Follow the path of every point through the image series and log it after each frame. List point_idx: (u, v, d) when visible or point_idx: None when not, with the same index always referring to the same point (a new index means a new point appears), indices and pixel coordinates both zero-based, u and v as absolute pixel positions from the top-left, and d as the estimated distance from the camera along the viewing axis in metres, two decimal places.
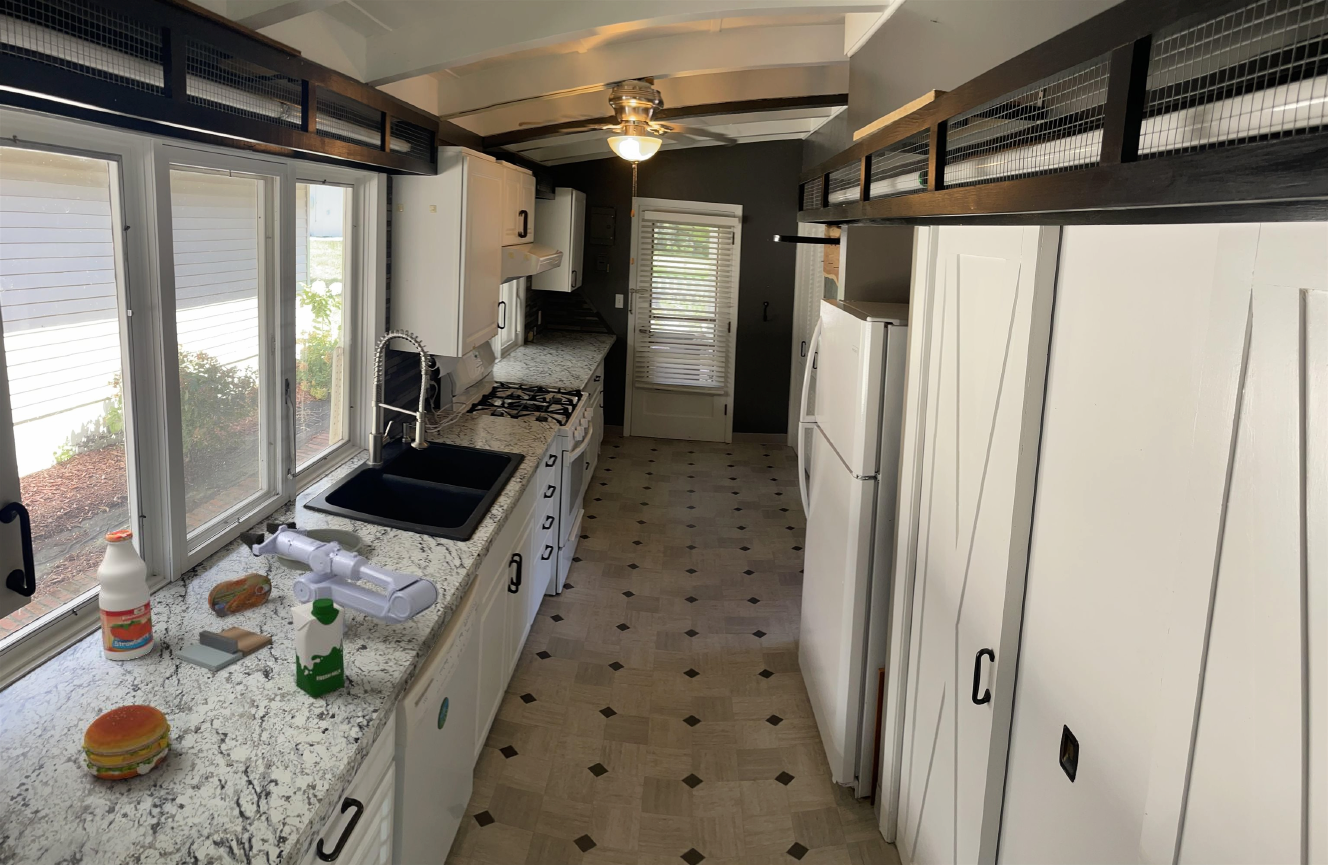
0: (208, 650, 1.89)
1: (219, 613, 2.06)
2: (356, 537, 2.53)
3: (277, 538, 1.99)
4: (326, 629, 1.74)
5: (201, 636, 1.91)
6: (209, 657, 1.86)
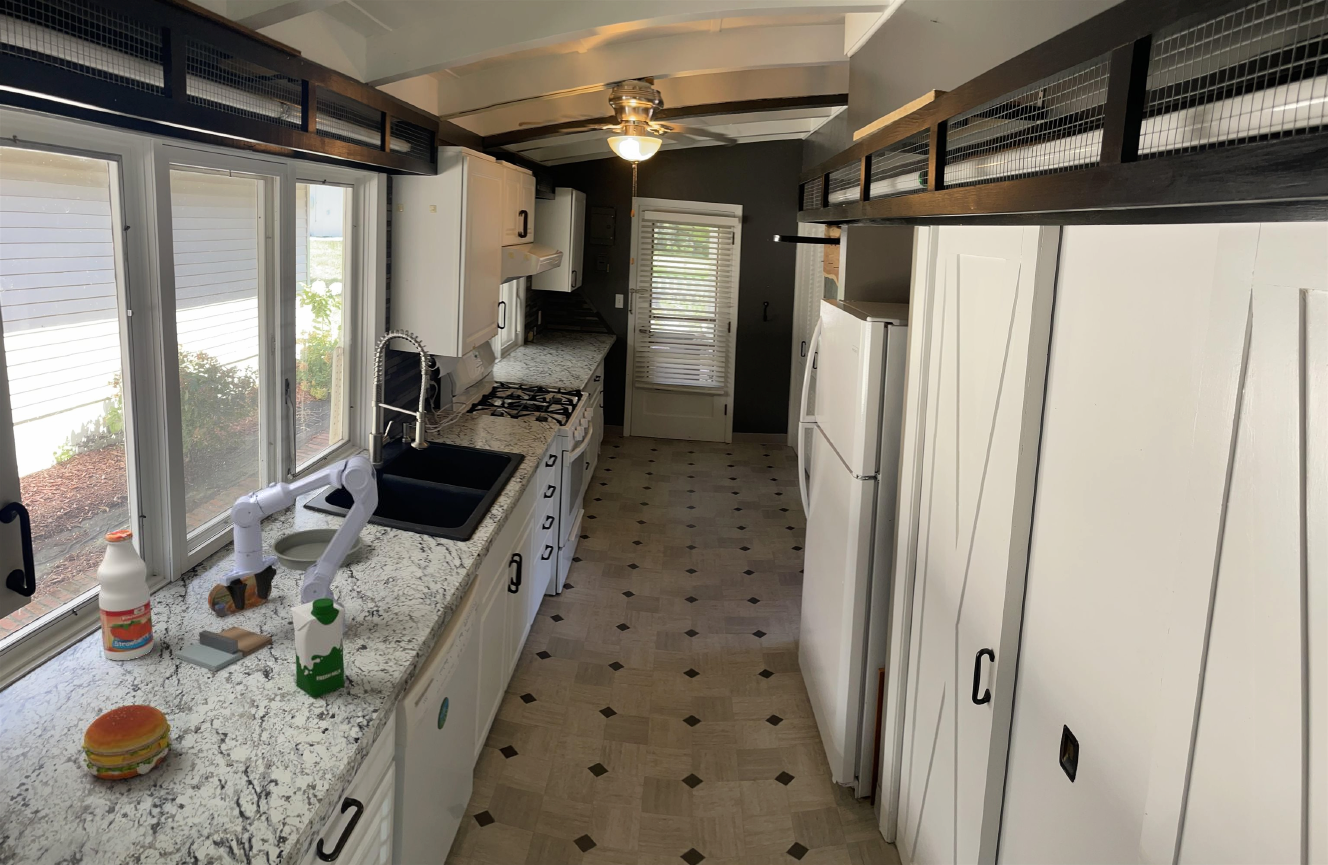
0: (208, 650, 1.89)
1: (219, 613, 2.06)
2: None
3: (235, 566, 1.93)
4: (326, 629, 1.74)
5: (201, 636, 1.91)
6: (209, 657, 1.86)
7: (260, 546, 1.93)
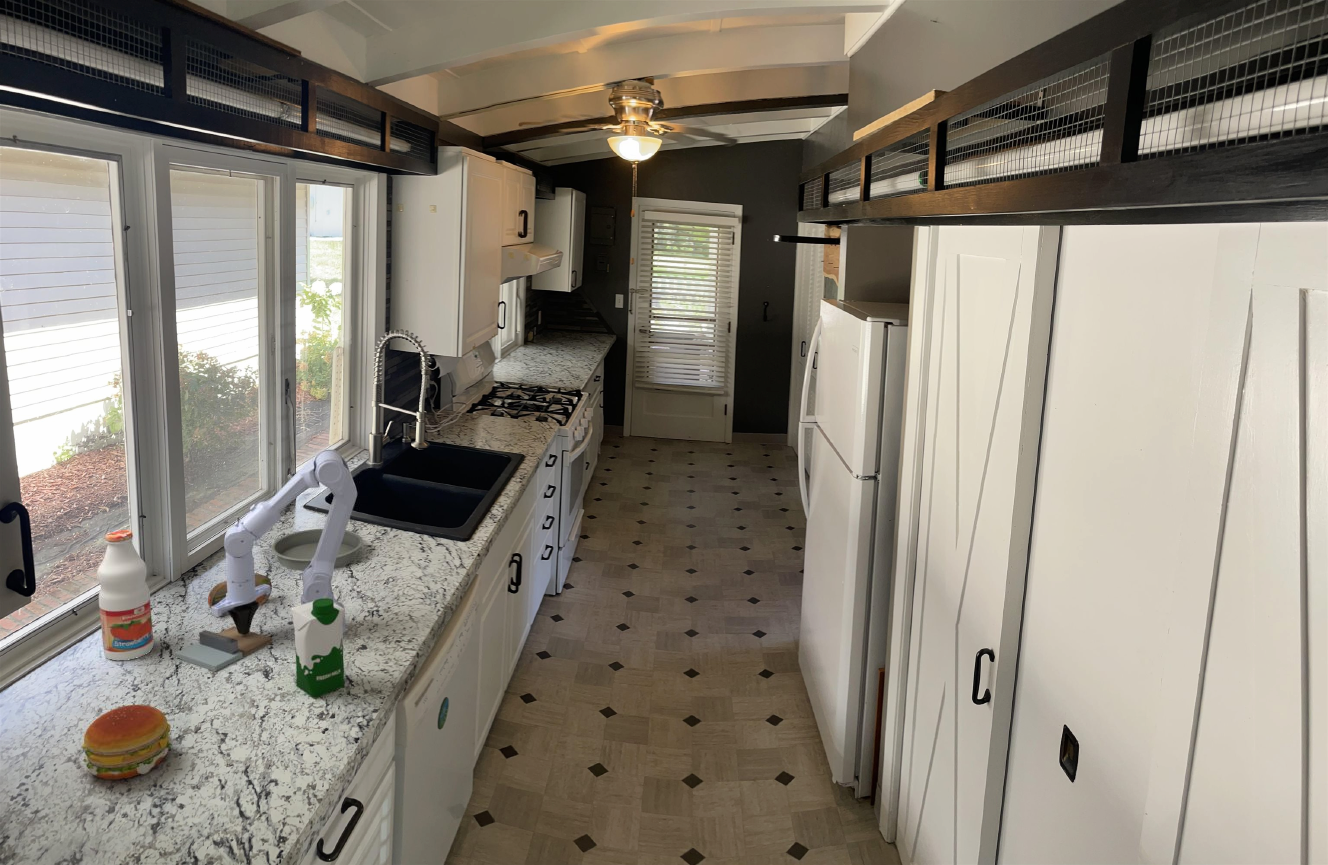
0: (208, 650, 1.89)
1: None
2: (356, 537, 2.53)
3: (227, 596, 1.92)
4: (326, 629, 1.74)
5: (201, 636, 1.91)
6: (209, 657, 1.86)
7: (253, 575, 1.93)
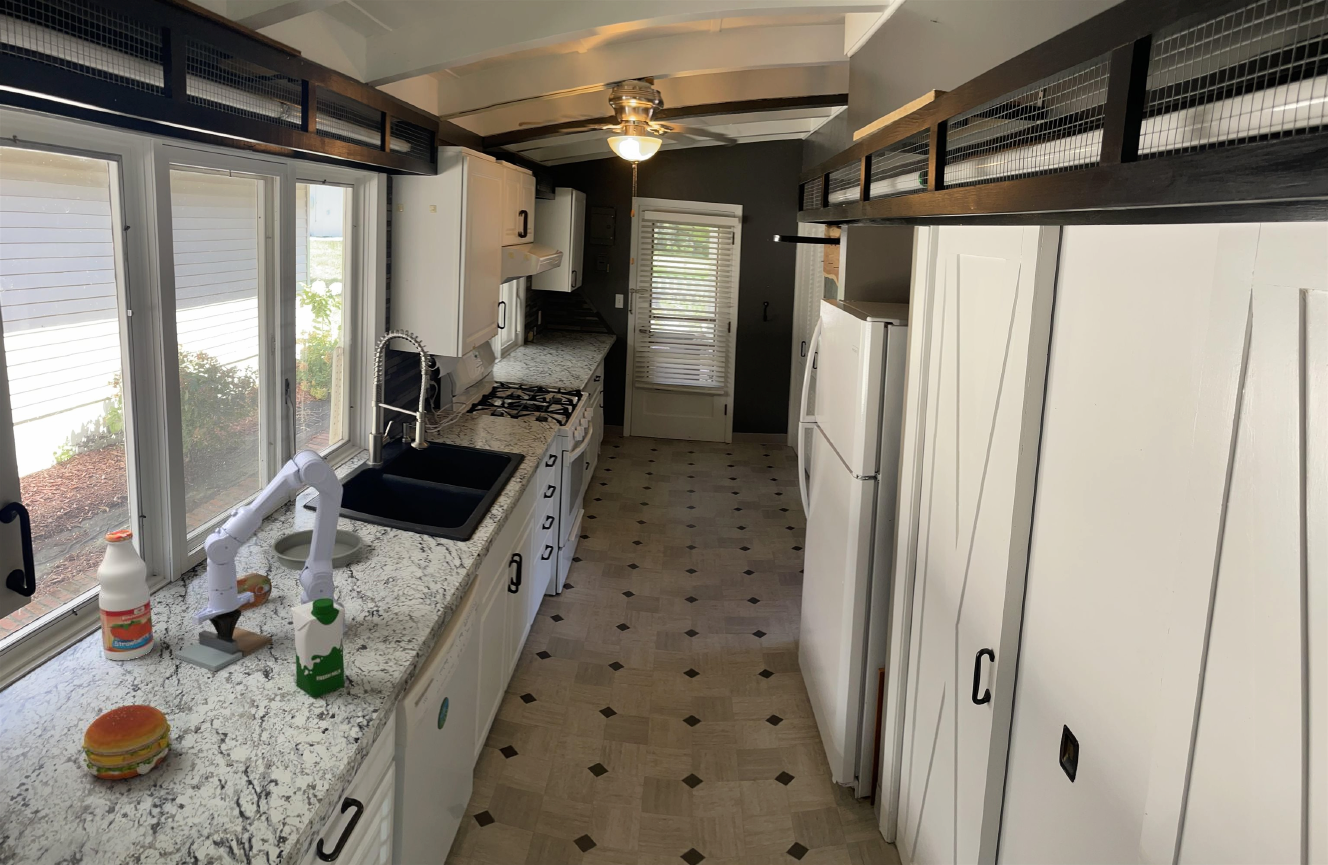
0: (208, 650, 1.88)
1: None
2: (356, 537, 2.53)
3: (209, 604, 1.88)
4: (326, 629, 1.74)
5: (200, 636, 1.90)
6: (209, 657, 1.86)
7: (236, 582, 1.89)
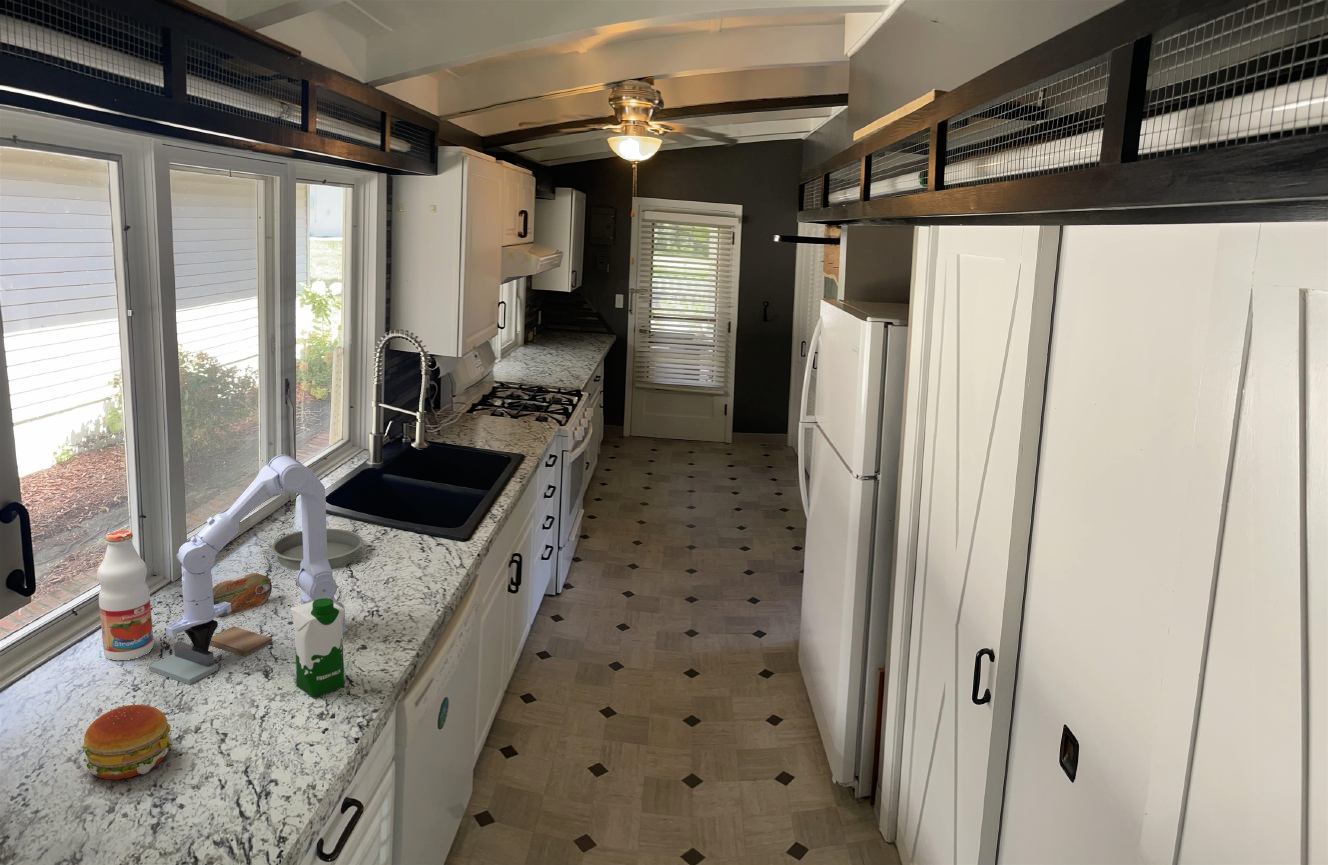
0: (182, 663, 1.83)
1: None
2: (356, 537, 2.53)
3: (184, 615, 1.82)
4: (326, 629, 1.74)
5: (175, 648, 1.85)
6: (183, 670, 1.80)
7: (212, 591, 1.84)
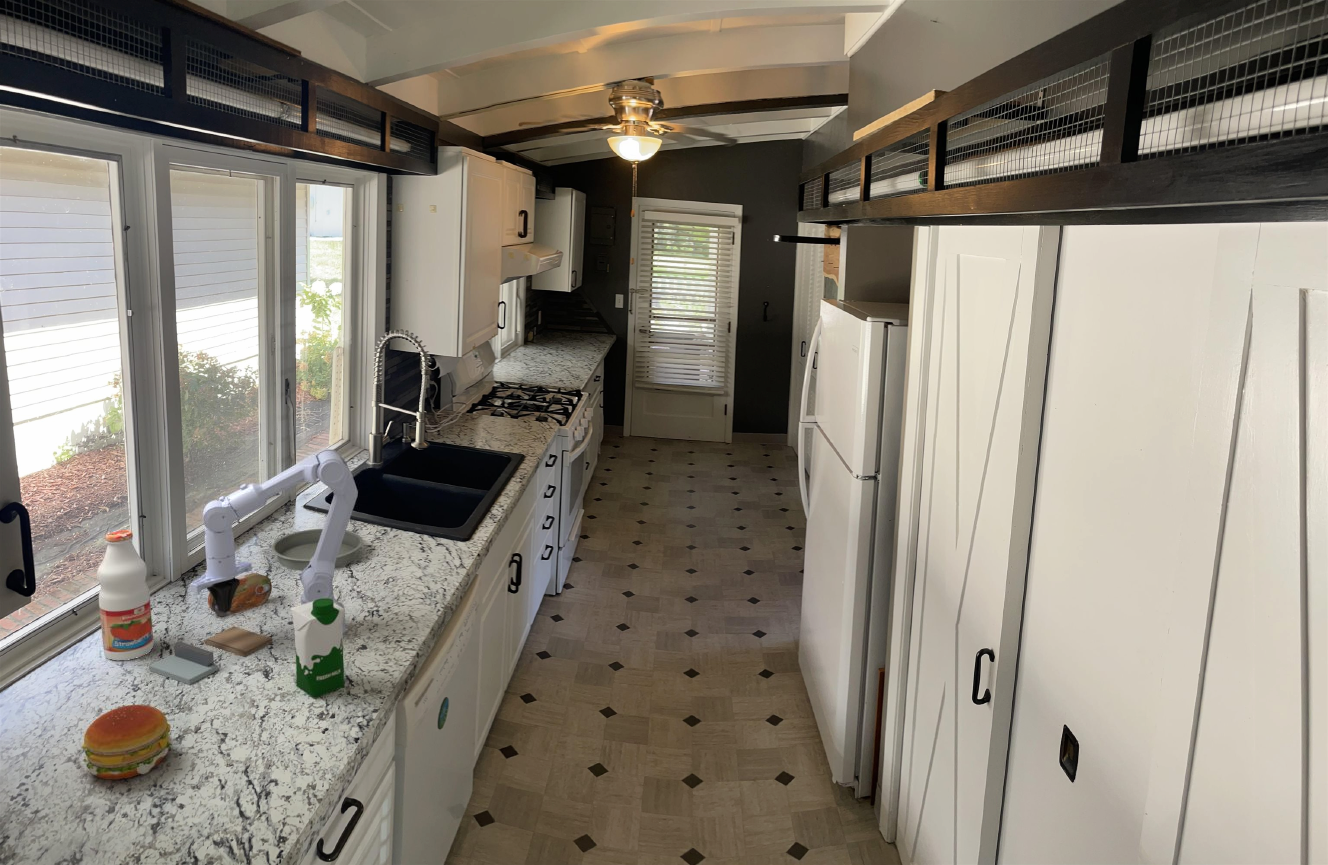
0: (182, 663, 1.83)
1: (219, 613, 2.06)
2: (356, 537, 2.53)
3: (207, 573, 1.88)
4: (326, 629, 1.74)
5: (175, 648, 1.85)
6: (183, 670, 1.80)
7: (233, 551, 1.89)
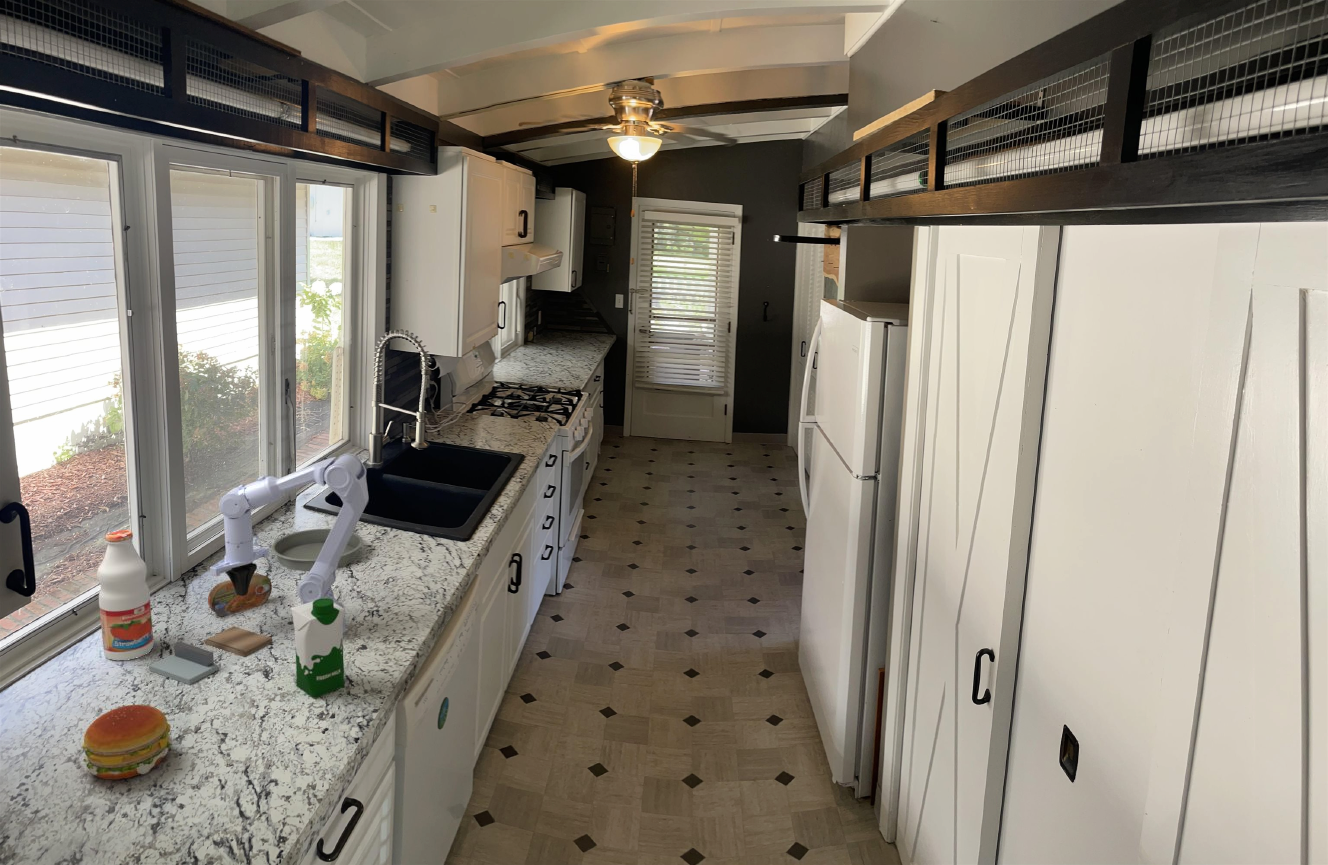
0: (182, 663, 1.83)
1: (219, 613, 2.06)
2: (356, 537, 2.53)
3: (226, 557, 1.95)
4: (326, 629, 1.74)
5: (175, 648, 1.85)
6: (183, 670, 1.80)
7: (249, 538, 1.95)
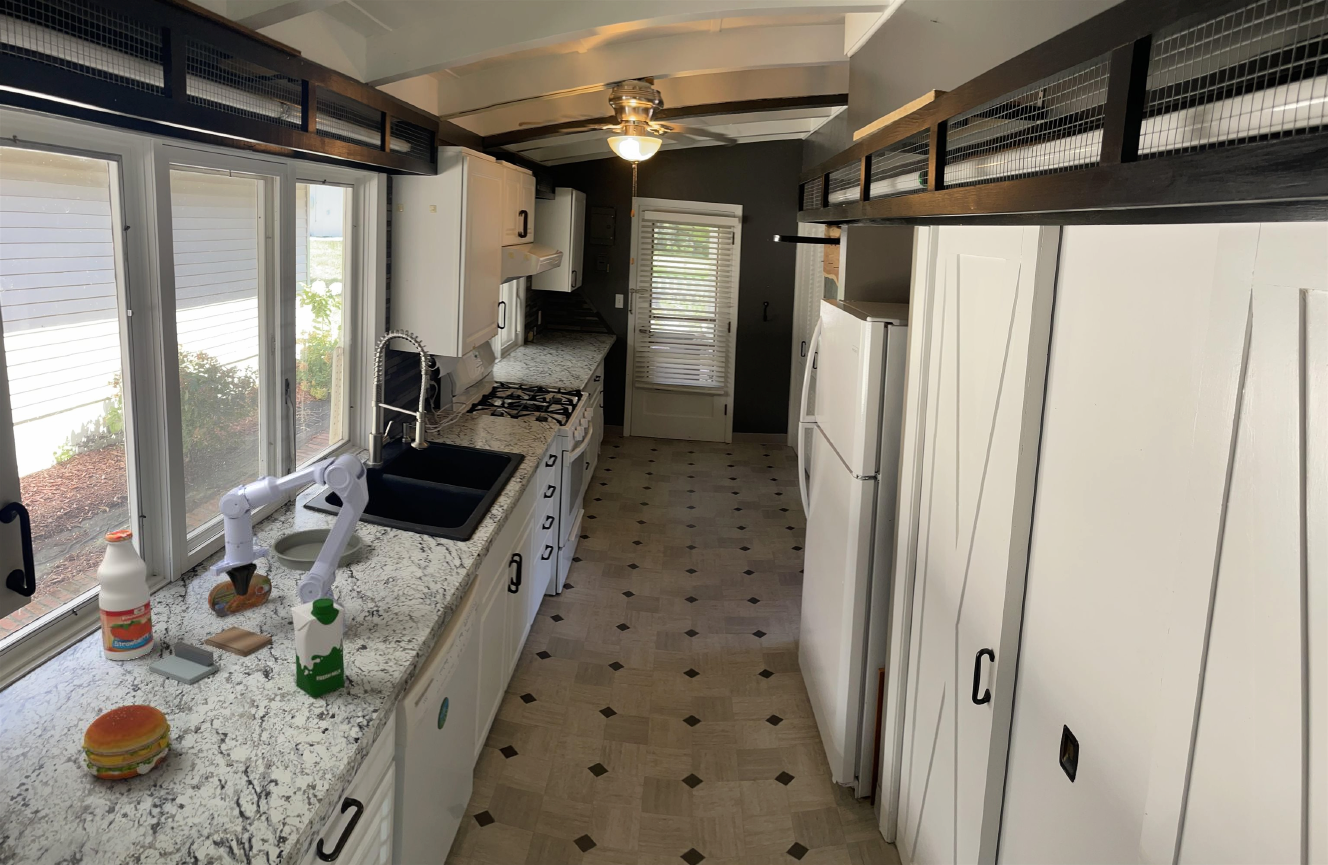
0: (182, 663, 1.83)
1: (219, 613, 2.06)
2: (356, 537, 2.53)
3: (226, 557, 1.95)
4: (326, 629, 1.74)
5: (175, 648, 1.85)
6: (183, 670, 1.80)
7: (249, 538, 1.95)
